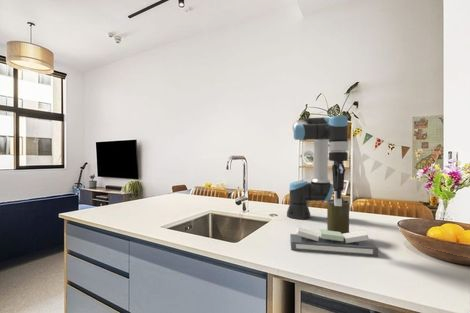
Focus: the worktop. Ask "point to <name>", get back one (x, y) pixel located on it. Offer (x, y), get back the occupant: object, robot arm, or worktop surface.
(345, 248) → the rocker switch panel
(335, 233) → the rocker mid
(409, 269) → the worktop surface
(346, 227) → the canister
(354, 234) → the block
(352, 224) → the worktop surface
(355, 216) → the worktop surface
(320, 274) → the worktop surface
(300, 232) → the block
